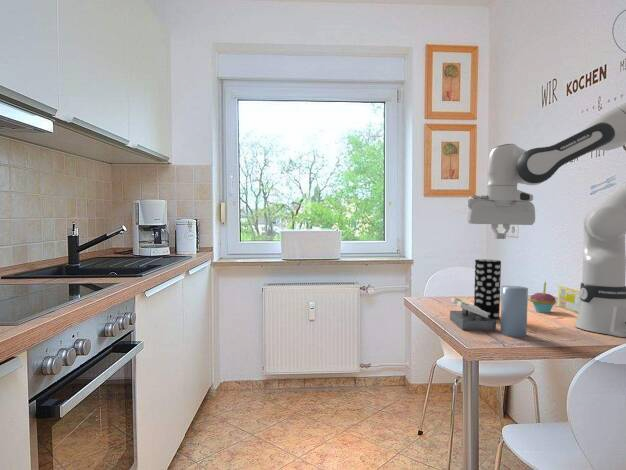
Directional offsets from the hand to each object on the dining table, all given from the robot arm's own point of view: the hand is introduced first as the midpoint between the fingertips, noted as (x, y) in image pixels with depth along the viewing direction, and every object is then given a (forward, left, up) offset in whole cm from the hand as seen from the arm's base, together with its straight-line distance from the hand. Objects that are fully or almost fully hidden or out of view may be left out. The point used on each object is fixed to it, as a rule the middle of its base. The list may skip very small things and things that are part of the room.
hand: (500, 238), depth 132 cm
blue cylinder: (-1, +11, -28) cm, 30 cm away
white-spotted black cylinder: (-1, -11, -28) cm, 30 cm away
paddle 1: (+9, -3, -22) cm, 24 cm away
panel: (+8, +1, -28) cm, 29 cm away
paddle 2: (+9, +4, -22) cm, 25 cm away
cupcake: (-26, -23, -28) cm, 45 cm away
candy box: (-39, -27, -28) cm, 55 cm away
